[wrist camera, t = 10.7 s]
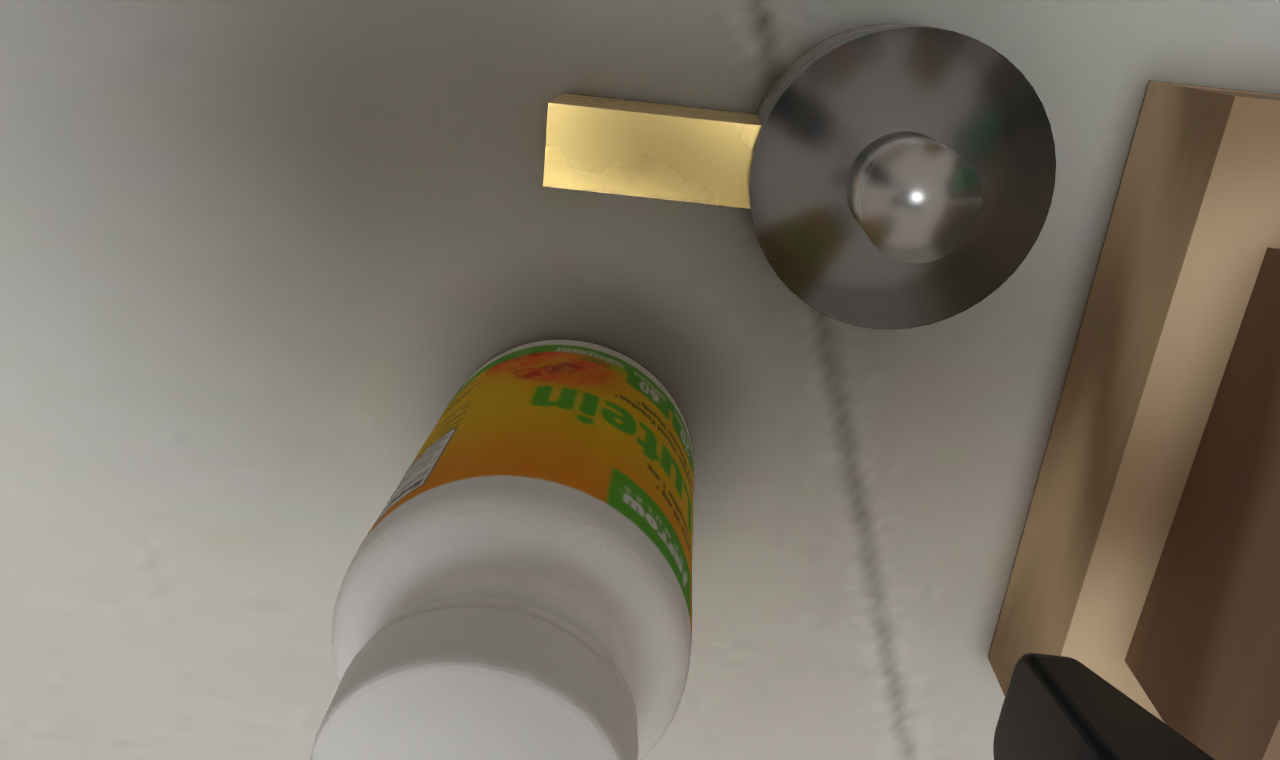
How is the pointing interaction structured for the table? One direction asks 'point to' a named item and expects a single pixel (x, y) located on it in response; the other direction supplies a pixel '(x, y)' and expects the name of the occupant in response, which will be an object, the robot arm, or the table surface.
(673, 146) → the door lever handle
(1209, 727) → the tall brown cuboid
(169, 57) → the table surface
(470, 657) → the supplement bottle
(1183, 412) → the peg stand
